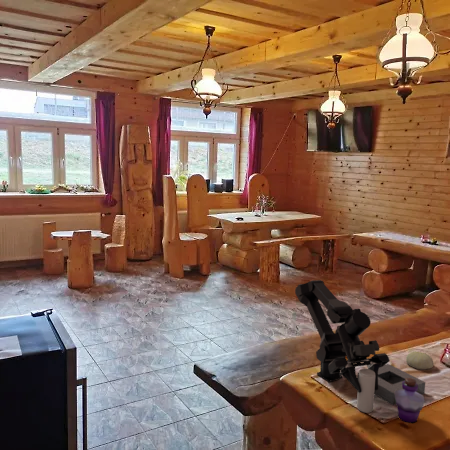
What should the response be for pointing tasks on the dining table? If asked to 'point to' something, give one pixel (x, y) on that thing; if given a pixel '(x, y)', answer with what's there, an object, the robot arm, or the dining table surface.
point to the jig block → (393, 382)
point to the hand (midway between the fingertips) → (368, 391)
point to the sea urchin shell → (419, 360)
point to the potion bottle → (409, 401)
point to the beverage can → (366, 390)
